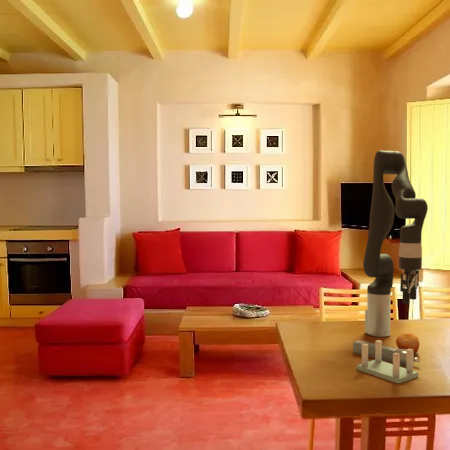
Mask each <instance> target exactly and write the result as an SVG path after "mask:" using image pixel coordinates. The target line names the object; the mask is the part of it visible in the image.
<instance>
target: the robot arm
mask: <svg viewBox="0 0 450 450" xmlns="http://www.w3.org/2000/svg"><path fill="white" fill-rule="evenodd" d="M384 175H396V176H395V177H394V178H393V180H392V183H391V190H392V195H393V196H394V199H395V205H394V202H393V200H392V198H391V196H390V195H389V193H388V191H387V188H386V186H385V180H384ZM372 179H373V183H372V193H371V194H372V195H371V206H370V213H369V225H368V235H367V240H366V241H367V242H366V245H365V246H366V247H365V251H364V252H365V253H364V257H363V263H362V265H363V267H362V268H363V271H364V274H365V275H366V276H367V277H369V278H375V279H374V280H373V281H372V282H371V283H370V284H368V285H367V290H366V291H367V293H366V295H367V296H366V297H367V298H366V301H367V302H366V303H367V304H366V308H367V309H366V310H365V311H364V334H365V333H366V334H367V335H369V336H372V337H380V338H381V337H382V338H383V337H389V336H390V335H391V303H392V302H391V292H392V289H393V285H394V274H395V273H394V272H395V271H394V269H395V268H394V261H393V259H392V257H391V256H390V255H389V254H387V253H381V251H382V246H383V242H384V240H385V239H386V237H387V236H388V234H389V233H390V231H391V229H392V227H393V225H394V220H395V219H394V218H395V215H396V216H397V217H398V218H400V219H403V220H404V219H408V220H409V219H414V220H413V222H412V223H411V224H407V225H406V224H405V225H402V226H400V229H399V232H400V233H399V247H398V268H399V270H402V271H403V270H404V272H403V273H400V287H399V291H400V292H401V293H402V304H403V305H409V304H410V303H411V302H410V300H414V301H415V300H416V299H417V291H418V288H419V285H420V279H419V278H420V270H422V268H423V267H422V266H423V265H422V264H423V246H422V234H423V233H422V231H423V227H424V223H425V220H426V217H427V212H428V210H429V208H428V203H427V201H426V200H425V199H424V198H420V197H418V198H416V192H415V189H414V187H413V185H412V183H411V180H410V178H409V172H408V167H407V163H406V159H405V156H404V154H403V153H402V152H401V151H396V150H378V151H376V152H375V155H374V159H373V178H372Z"/></svg>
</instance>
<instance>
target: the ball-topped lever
mask: <svg viewBox="0 0 450 450" xmlns="http://www.w3.org/2000/svg"><path fill="white" fill-rule="evenodd" d="M362 344H368V358H373V359H375V342H368V341H364V340H358V339H357V340H356V341H353V343H352V345H353V349H352V351H353V354H356V355H360V356H362ZM393 353H399V354H400V367H402V366H403V367H406V362H407V349H399V348H398V347H397V348H396V347H393V346H388V345H387V346H386V345H383V344H382V361H384V362H389V363H390V362H391V363H393ZM414 355H415V354H414V352H413V363H414V362H415V363H421V359H420V358H417V357H415V356H414Z"/></svg>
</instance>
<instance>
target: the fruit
mask: <svg viewBox="0 0 450 450" xmlns="http://www.w3.org/2000/svg"><path fill="white" fill-rule="evenodd" d="M395 339H396V340H395V344H396V346H397V349H413V352H414V355H415V354H417V353H418V351H419V349H420V339H419V337H418V336H416V335H414V334H413V333H412V332H405V333H401V334H399V335H398V336H396V338H395Z"/></svg>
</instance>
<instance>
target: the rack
mask: <svg viewBox="0 0 450 450" xmlns="http://www.w3.org/2000/svg"><path fill="white" fill-rule="evenodd" d="M374 344H375V358H374V359H372V360H370V361H369V356H368V344H362V355H361V363H360V364H356V370H358V371H360V372H362V373H366V374H369V375H372V376H374V377H378V378H380V379H384V380H386V381H389V382H392V383H394V382H395V384H397V383H398V385H400V384H402V382H403V383H404V382H405V383H406V382H408V381H411V380H414V379H417V378H418V377H419V372H418V371H416V370H415V371H414V361H413V349H407V362H406V366H405V367H406V368H405V367H404V366H403V367H402V366H401V365H400V354H399V353H393V362H392V363H390V362H388V361H385V360H382V345H383V341H382V340H379V339H378V340H377V339H376V340H375V342H374ZM416 377H417V378H416ZM413 378H414V379H413ZM399 383H400V384H399Z"/></svg>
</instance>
